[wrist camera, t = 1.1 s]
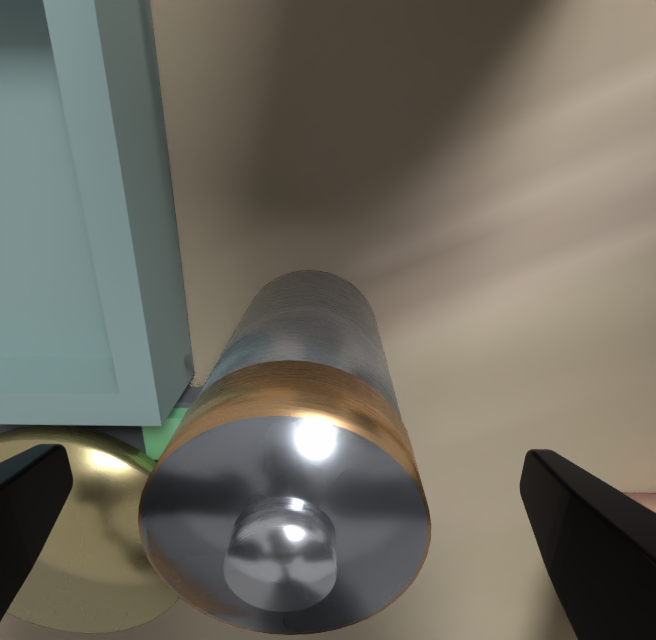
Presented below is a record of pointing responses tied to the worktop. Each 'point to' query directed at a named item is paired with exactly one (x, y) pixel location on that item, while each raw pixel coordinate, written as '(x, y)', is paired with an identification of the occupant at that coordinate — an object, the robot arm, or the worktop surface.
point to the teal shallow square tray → (86, 220)
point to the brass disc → (91, 539)
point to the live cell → (291, 472)
